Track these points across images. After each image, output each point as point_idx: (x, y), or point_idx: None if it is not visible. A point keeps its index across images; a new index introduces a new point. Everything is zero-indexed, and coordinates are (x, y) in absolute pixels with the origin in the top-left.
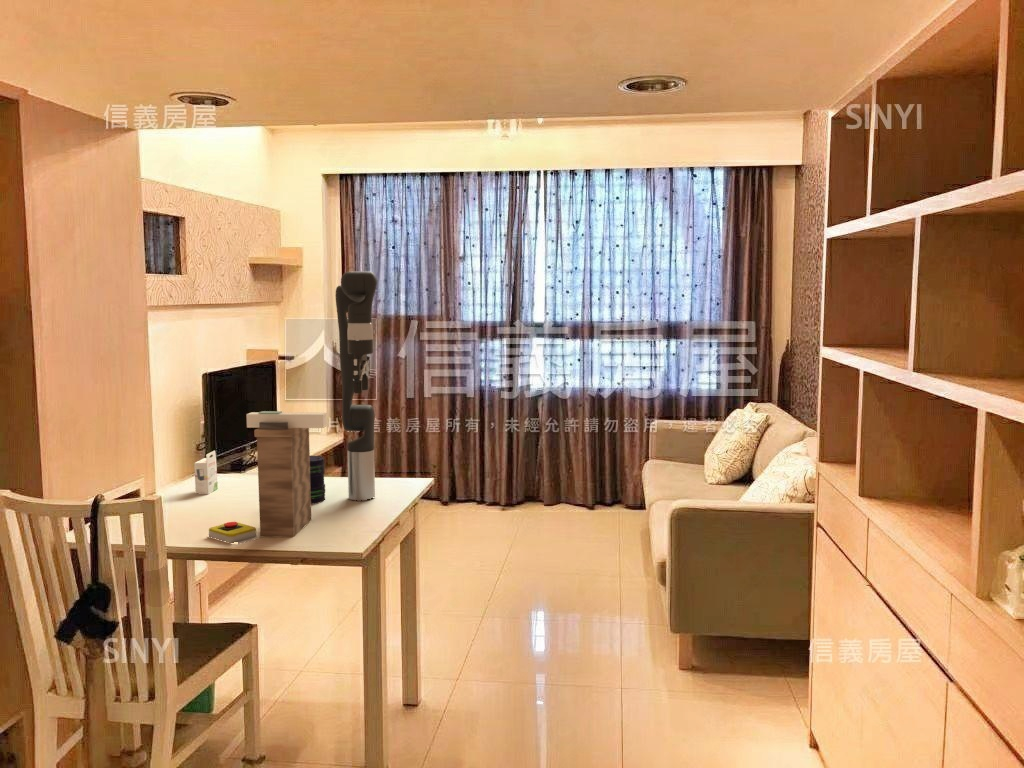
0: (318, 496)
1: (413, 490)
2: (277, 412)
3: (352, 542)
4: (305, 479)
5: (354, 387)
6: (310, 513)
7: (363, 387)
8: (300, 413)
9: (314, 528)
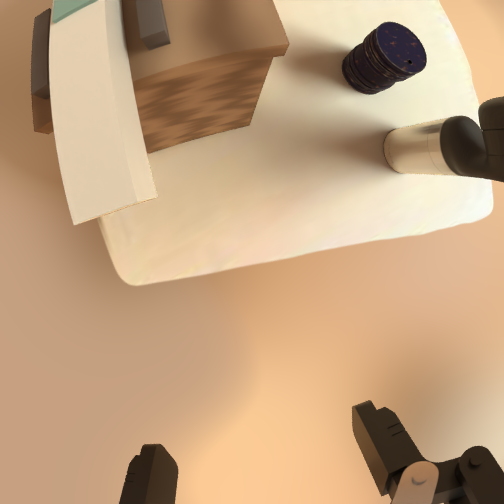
0: (361, 86)
1: (450, 218)
2: (62, 10)
3: (154, 259)
4: (216, 112)
5: (136, 473)
6: (245, 123)
7: (359, 428)
8: (80, 84)
9: (203, 157)
